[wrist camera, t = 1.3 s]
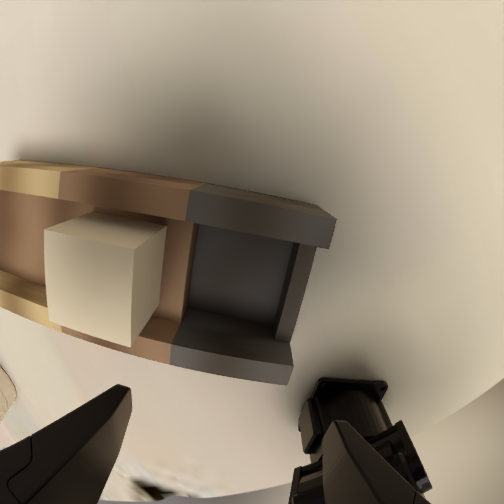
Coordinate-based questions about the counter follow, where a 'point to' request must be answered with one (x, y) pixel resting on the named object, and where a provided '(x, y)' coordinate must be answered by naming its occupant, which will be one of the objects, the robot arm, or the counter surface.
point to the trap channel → (176, 262)
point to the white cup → (6, 393)
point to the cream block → (104, 274)
